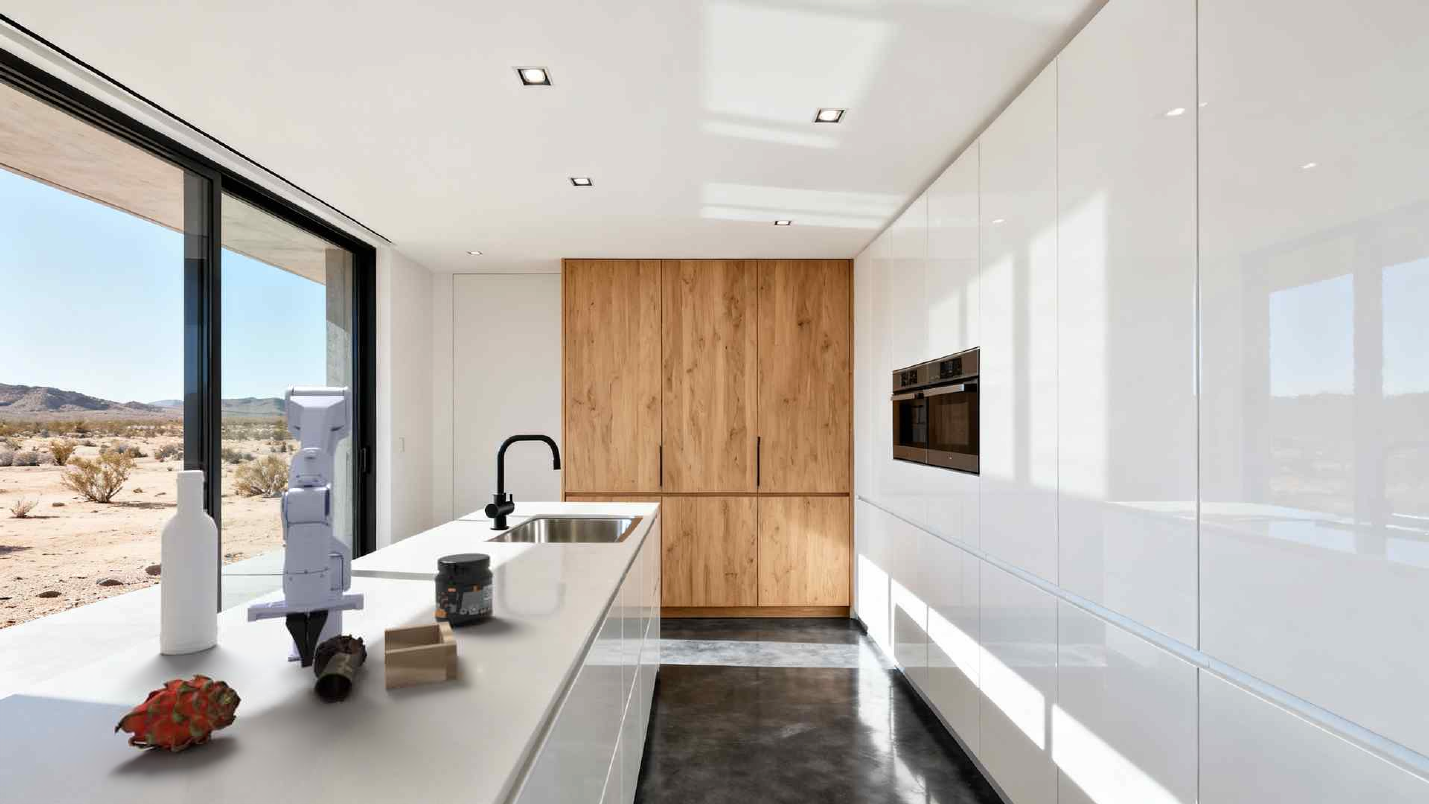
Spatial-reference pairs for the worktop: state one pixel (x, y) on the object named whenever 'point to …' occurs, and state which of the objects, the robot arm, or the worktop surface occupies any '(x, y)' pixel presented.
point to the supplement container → (463, 589)
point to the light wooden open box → (420, 654)
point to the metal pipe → (337, 667)
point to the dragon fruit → (181, 714)
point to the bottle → (189, 572)
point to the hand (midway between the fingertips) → (307, 665)
